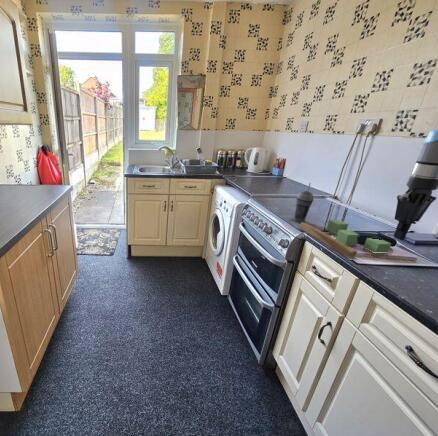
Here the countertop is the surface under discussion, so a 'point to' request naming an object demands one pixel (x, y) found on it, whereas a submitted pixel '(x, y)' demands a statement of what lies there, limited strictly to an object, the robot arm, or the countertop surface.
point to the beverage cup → (303, 205)
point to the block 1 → (336, 226)
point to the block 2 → (376, 246)
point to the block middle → (347, 237)
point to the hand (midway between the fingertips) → (398, 238)
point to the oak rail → (329, 240)
